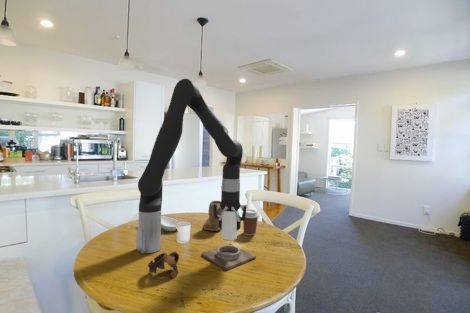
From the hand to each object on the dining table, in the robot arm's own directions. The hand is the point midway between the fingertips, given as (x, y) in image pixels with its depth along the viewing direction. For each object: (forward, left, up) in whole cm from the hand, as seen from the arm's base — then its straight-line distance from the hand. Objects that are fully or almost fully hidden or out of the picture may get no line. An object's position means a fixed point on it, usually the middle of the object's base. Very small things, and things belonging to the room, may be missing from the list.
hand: (229, 229), depth 105 cm
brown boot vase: (+18, +32, -12) cm, 38 cm away
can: (0, 0, -4) cm, 4 cm away
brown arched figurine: (-26, +4, -12) cm, 29 cm away
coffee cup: (+27, +14, -12) cm, 32 cm away
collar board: (0, 0, -12) cm, 12 cm away
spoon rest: (-5, +49, -12) cm, 51 cm away
